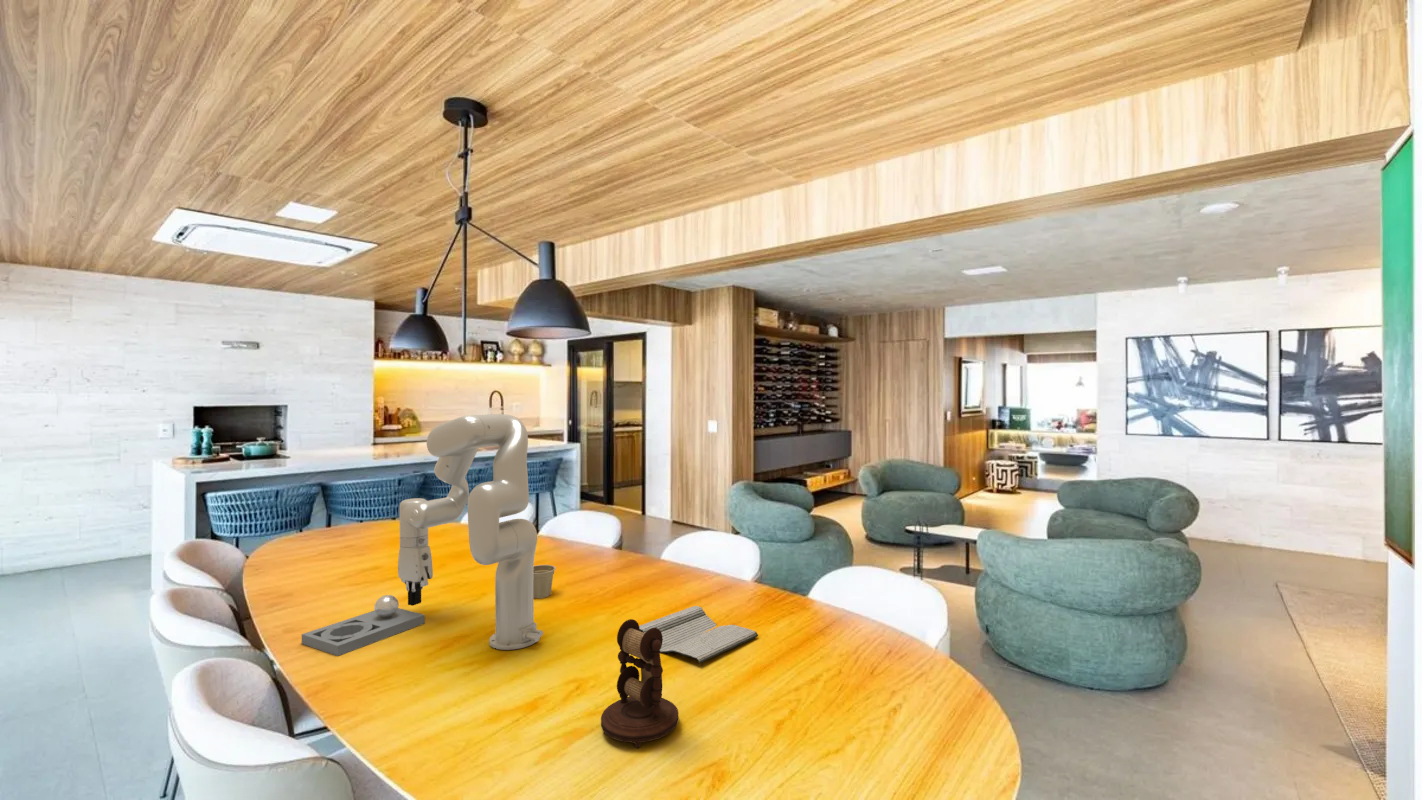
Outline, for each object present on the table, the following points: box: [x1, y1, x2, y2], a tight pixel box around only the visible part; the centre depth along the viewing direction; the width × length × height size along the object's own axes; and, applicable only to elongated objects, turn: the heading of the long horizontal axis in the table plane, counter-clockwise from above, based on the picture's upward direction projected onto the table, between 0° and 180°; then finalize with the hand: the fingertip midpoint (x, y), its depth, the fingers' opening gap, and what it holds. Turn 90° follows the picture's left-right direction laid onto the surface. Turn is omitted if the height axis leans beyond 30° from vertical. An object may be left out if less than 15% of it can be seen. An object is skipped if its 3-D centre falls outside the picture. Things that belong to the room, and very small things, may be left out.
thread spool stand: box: [600, 618, 679, 749], centre depth 115 cm, size 15×15×20 cm
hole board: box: [301, 607, 425, 657], centre depth 162 cm, size 16×24×2 cm, turn 152°
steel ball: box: [373, 594, 399, 618], centre depth 167 cm, size 6×6×6 cm
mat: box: [639, 605, 759, 667], centre depth 156 cm, size 23×24×5 cm
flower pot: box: [533, 564, 557, 599], centre depth 192 cm, size 9×9×9 cm
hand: (414, 603), depth 175 cm, fingers closed
